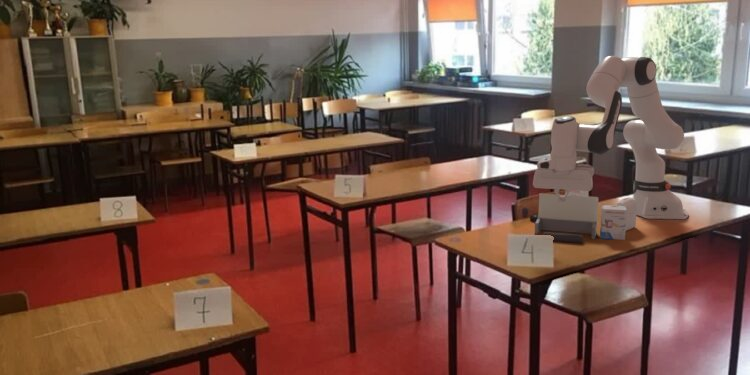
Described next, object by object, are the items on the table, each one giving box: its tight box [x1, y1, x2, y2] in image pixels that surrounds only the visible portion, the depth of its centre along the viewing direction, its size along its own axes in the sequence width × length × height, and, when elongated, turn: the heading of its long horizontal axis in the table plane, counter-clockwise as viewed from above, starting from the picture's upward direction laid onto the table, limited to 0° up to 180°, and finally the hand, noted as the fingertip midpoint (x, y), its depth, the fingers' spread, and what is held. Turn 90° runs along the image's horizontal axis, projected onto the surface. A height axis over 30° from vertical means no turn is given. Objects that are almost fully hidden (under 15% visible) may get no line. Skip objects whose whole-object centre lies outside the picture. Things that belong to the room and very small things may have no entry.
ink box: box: [599, 204, 627, 241], centre depth 237 cm, size 9×5×12 cm, turn 75°
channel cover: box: [537, 193, 599, 223], centre depth 247 cm, size 22×10×1 cm
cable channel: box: [534, 218, 598, 240], centre depth 244 cm, size 22×8×4 cm, turn 67°
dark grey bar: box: [541, 231, 585, 244], centre depth 236 cm, size 15×3×3 cm, turn 67°
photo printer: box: [615, 197, 637, 232], centre depth 246 cm, size 10×4×12 cm, turn 129°
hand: (561, 201), depth 226 cm, fingers closed
